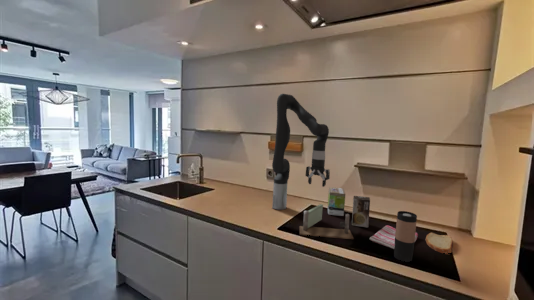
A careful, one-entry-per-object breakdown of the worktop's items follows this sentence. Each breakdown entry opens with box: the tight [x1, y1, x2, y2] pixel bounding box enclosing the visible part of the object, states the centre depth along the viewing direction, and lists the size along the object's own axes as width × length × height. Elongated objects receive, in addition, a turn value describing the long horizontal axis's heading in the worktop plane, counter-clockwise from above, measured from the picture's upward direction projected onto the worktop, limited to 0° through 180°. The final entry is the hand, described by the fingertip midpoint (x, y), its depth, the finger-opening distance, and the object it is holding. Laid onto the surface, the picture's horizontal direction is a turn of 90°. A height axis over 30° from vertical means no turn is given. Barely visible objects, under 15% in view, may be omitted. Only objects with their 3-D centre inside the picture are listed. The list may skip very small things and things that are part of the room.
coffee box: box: [351, 195, 371, 228], centre depth 151 cm, size 9×6×16 cm
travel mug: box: [393, 210, 418, 263], centre depth 114 cm, size 8×8×20 cm
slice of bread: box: [425, 232, 454, 255], centre depth 130 cm, size 18×18×4 cm
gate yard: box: [298, 210, 355, 240], centre depth 138 cm, size 27×10×11 cm, turn 84°
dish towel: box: [369, 224, 419, 250], centre depth 134 cm, size 17×23×4 cm
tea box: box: [327, 186, 346, 217], centre depth 172 cm, size 15×10×15 cm
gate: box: [308, 203, 324, 228], centre depth 147 cm, size 18×2×9 cm, turn 144°
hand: (316, 185), depth 155 cm, fingers open, 8 cm apart
